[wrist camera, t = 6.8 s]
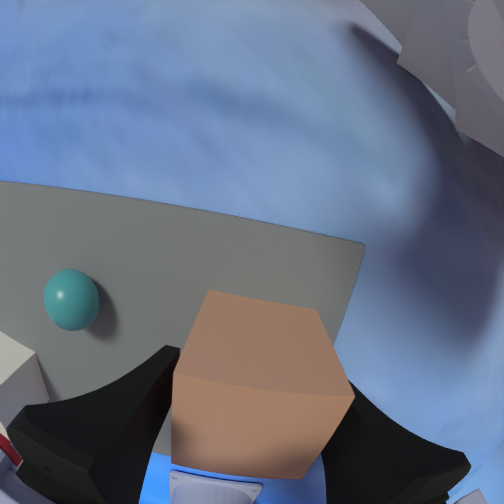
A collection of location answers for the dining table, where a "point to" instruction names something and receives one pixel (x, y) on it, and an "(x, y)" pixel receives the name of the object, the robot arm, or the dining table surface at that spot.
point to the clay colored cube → (256, 389)
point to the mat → (149, 277)
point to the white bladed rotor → (454, 57)
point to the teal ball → (71, 300)
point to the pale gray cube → (18, 380)
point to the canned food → (10, 450)
